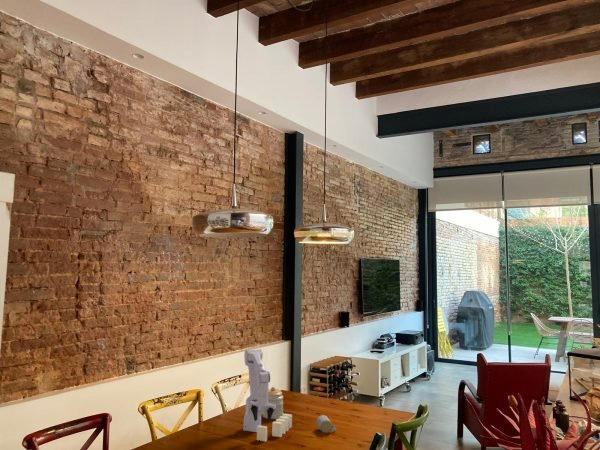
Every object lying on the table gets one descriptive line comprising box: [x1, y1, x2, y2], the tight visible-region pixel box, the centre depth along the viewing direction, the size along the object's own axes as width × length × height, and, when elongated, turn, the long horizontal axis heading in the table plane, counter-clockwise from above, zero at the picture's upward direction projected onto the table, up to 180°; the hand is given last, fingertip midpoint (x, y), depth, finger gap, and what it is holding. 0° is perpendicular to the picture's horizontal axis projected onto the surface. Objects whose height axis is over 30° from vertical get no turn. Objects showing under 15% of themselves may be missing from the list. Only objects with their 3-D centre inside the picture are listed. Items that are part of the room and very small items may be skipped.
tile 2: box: [278, 416, 290, 432], centre depth 260 cm, size 5×2×7 cm, turn 70°
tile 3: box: [275, 418, 286, 435], centre depth 255 cm, size 5×2×7 cm, turn 70°
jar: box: [261, 386, 284, 420], centre depth 285 cm, size 13×13×18 cm
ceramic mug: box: [315, 414, 337, 434], centre depth 260 cm, size 11×8×8 cm
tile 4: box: [271, 421, 283, 438], centre depth 251 cm, size 5×2×7 cm, turn 70°
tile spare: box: [256, 425, 268, 442], centre depth 244 cm, size 5×2×7 cm, turn 70°
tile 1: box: [283, 413, 293, 429], centre depth 265 cm, size 5×2×7 cm, turn 70°
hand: (262, 421), depth 245 cm, fingers open, 7 cm apart
